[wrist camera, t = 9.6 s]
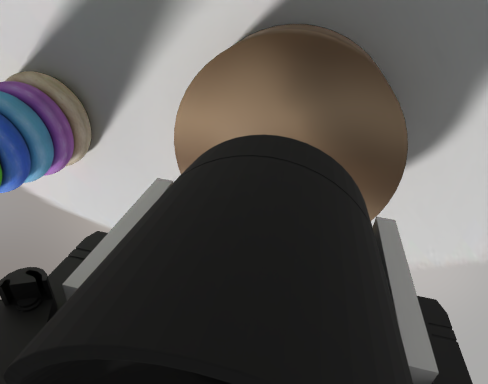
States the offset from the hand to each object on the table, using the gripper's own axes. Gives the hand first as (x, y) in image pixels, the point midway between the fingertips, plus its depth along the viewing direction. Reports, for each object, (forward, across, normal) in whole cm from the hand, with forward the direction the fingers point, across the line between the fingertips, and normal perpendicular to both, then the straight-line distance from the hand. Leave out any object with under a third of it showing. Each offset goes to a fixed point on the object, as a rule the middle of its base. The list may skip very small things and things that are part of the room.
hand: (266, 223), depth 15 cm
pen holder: (+1, 0, 0) cm, 1 cm away
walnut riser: (+11, 0, 0) cm, 11 cm away
